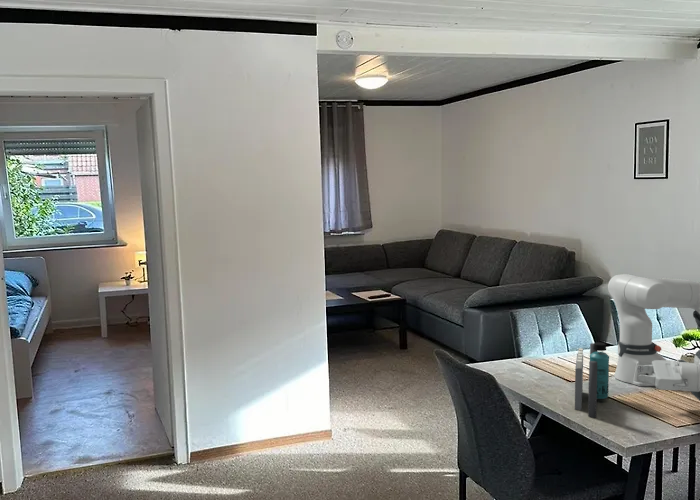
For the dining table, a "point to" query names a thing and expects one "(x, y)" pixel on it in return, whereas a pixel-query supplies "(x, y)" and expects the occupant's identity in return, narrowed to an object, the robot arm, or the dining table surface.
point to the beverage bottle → (601, 369)
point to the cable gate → (592, 385)
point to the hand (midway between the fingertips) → (637, 372)
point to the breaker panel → (579, 380)
